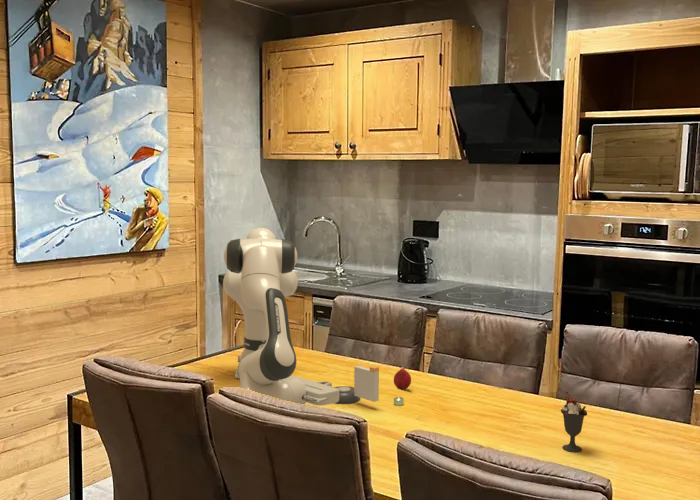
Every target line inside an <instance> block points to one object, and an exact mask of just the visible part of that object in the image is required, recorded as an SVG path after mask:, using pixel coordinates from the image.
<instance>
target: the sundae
mask: <svg viewBox="0 0 700 500" xmlns="http://www.w3.org/2000/svg"><path fill="white" fill-rule="evenodd" d="M565 394H566V395H567V396H568V398H567V399H566V400H565V401H566V402H565V404H564V405H563V407H562V408H561V409H560V412H561V414H562V417H563V424H564V431H565V432H566V433H567V434H568V436H569V437H570V439H569V443H568V444H563V446H562V449H563V450H564V451H566V452H570V453H580V452H582V451H583V448H582V447H581V446H579V445H577V444H576V437H577V436H579V435H580V434H581V432H582V429H583V423H584V418H585V416H588V411H587V410H586V407H587V406H586V405H585V406H583V407H582V404H580V402H579V401H577V400H575V399H574V398H572V396H571V394H569V391H565Z"/></svg>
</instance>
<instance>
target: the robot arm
mask: <svg viewBox="0 0 700 500" xmlns="http://www.w3.org/2000/svg"><path fill="white" fill-rule="evenodd" d="M223 253H224V254H223V260H224V263H225V266H226V269H227V272H226V273H225V275H224V277H223V280H222V286H223V289H224V292H225V294H227V295H226V296H229V297H230V299H232V300H234V301H235V303H236V304H238V307H239V308H240V310H241V311H242V312H241V313H242V314H243V319H244V333H245V336H244V339H243V351H242V352H241V354H240V355H238V356H237V363H238V365H237V368H236V371H235V373H234V379H237V378H238V379H239V389H240V388H244V389H248V390H252V391H255V392H258V393H261V394H265V395H269V396H272V397H276V398H279V399H282V400H286V401H291V402H295V403H300V404H305V405H306V403H308V404H312V405H313V406H326V405H332V404H337V403H336V402H338V401H339V389H337V388H334V387H333V384H332V382H329V381H327V380H326V381H325V380H322V381H314V380H311V379H306V378H303V377H300V376H297V375H293V373H294V372H295V370H296V369H297V368H296V367H297V354H296V352H295V348H294V346H293V342H292V339H291V332H290V322H289V313H288V305H287V300H286V298H287V297H290V296H293V295H294V294H295V293H296V291H297V289H298V284H299V283H298V282H299V279H298V276H297V274H296V272H295V271H294V269H295V266H296V264H297V261H298V251H297V248H296V245H295V243H293V242H292V241H291V240H288V239H283V238H282V239H278V238H277V239H276V236H275V234H274V232H273V231H272V230H270V229H268V228H266V227H258V228H254V229H252V230H251V231H250V232H249V233H248V235H247V236H246V238H244V239H243V238H242V239H241V238H236V239H232V240H230V241H229V242H227V245H226V247H225V249H224V252H223ZM238 379H237V380H238Z"/></svg>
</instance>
